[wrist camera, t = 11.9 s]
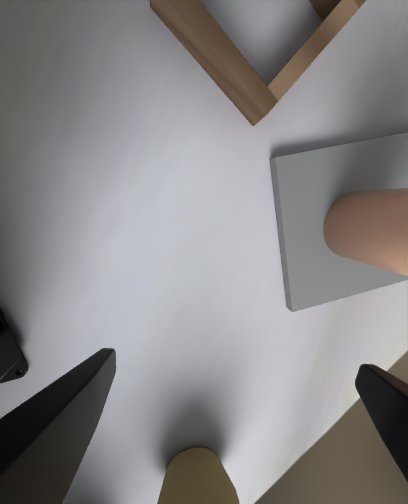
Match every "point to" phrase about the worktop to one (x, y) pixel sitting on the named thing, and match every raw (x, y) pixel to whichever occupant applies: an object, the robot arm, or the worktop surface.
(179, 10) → the collar
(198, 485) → the squeeze bottle
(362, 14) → the worktop surface
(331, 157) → the pad
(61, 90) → the worktop surface
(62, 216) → the worktop surface
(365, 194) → the tan piece
